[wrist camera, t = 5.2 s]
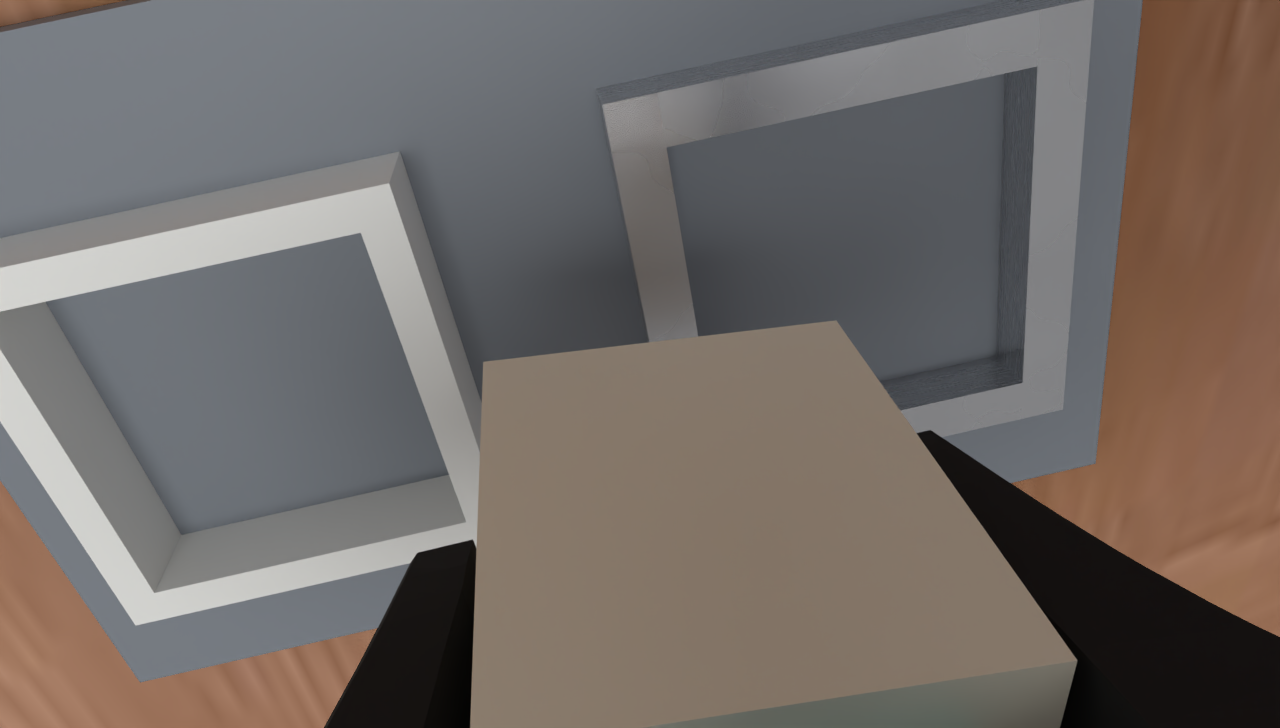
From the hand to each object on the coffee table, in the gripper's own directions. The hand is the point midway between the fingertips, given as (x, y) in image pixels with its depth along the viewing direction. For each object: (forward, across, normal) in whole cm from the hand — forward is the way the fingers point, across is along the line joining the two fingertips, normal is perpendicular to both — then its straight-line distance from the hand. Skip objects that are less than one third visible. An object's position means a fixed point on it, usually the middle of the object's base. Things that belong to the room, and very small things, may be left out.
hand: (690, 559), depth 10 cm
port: (+8, +6, 0) cm, 10 cm away
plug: (+1, 0, 0) cm, 1 cm away
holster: (+6, -4, 0) cm, 7 cm away
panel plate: (+7, +1, 0) cm, 7 cm away
